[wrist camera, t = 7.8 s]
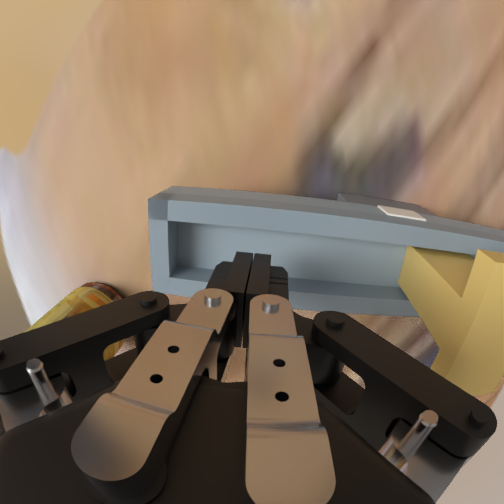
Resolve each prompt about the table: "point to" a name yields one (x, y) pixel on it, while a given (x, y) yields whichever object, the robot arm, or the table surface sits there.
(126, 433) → the robot arm
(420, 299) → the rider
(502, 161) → the table surface
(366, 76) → the table surface
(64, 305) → the sauce bottle
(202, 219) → the beam
